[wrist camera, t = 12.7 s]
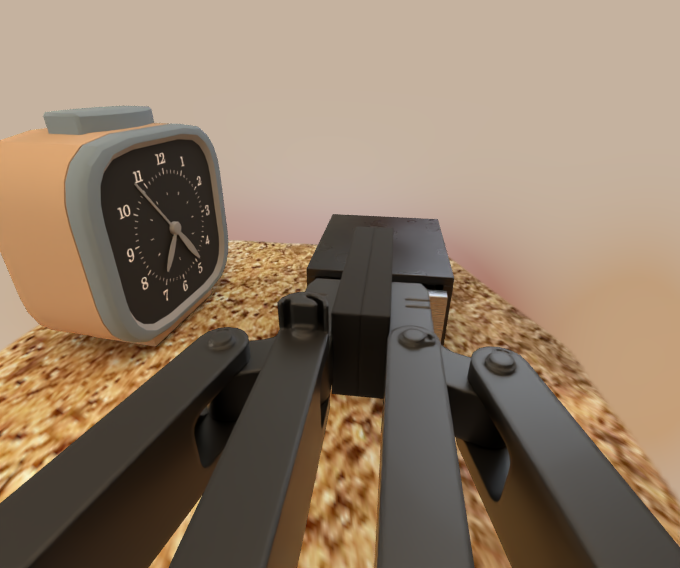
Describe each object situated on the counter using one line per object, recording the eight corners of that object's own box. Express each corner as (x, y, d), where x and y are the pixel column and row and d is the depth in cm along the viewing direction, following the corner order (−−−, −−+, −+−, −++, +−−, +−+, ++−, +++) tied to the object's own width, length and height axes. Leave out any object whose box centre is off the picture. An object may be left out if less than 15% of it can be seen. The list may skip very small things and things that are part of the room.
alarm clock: (134, 377, 36) (58, 121, 26) (47, 362, 38) (-57, 117, 28) (235, 278, 54) (213, 104, 44) (172, 271, 55) (137, 102, 45)
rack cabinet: (439, 368, 37) (454, 277, 33) (309, 356, 39) (306, 268, 34) (428, 290, 51) (438, 219, 47) (332, 283, 52) (332, 214, 48)
